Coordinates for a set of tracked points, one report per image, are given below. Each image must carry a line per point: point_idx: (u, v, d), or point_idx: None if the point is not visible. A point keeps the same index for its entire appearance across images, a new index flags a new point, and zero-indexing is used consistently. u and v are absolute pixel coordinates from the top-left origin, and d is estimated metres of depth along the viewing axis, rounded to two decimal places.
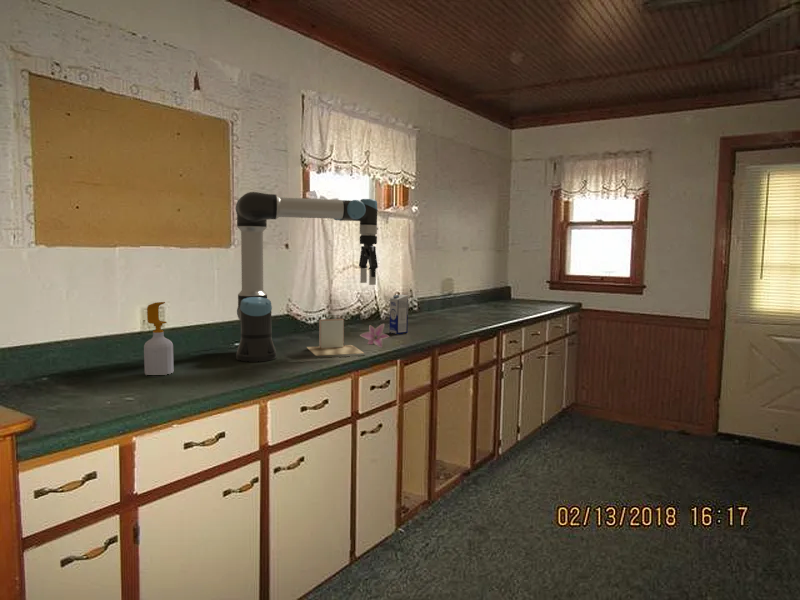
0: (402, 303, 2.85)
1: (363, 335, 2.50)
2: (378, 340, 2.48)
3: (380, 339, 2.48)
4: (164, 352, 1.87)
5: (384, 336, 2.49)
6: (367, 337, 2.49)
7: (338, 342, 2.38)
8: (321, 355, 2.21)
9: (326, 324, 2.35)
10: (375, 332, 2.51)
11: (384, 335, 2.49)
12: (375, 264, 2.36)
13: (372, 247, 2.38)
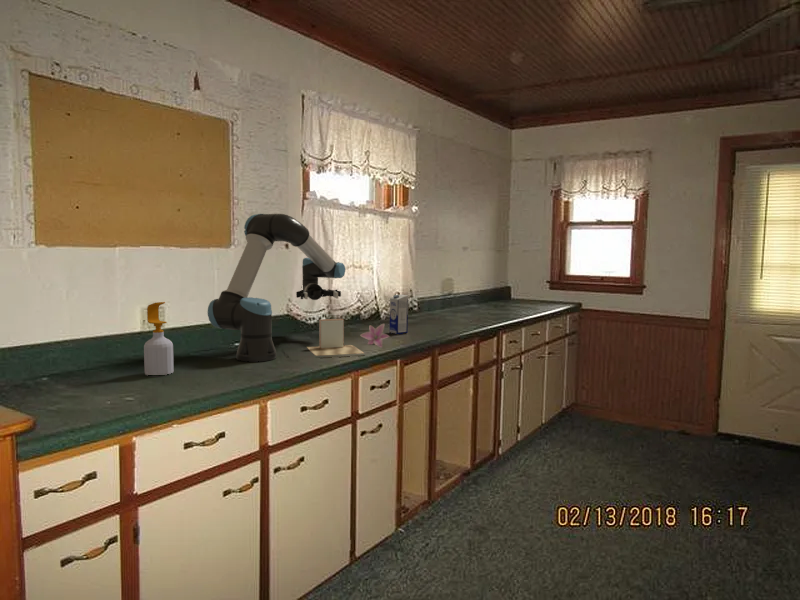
0: (402, 303, 2.85)
1: (363, 335, 2.50)
2: (378, 340, 2.48)
3: (380, 339, 2.48)
4: (164, 352, 1.87)
5: (384, 336, 2.49)
6: (367, 337, 2.49)
7: (338, 342, 2.38)
8: (321, 355, 2.21)
9: (326, 324, 2.35)
10: (375, 332, 2.51)
11: (384, 335, 2.49)
12: None
13: None
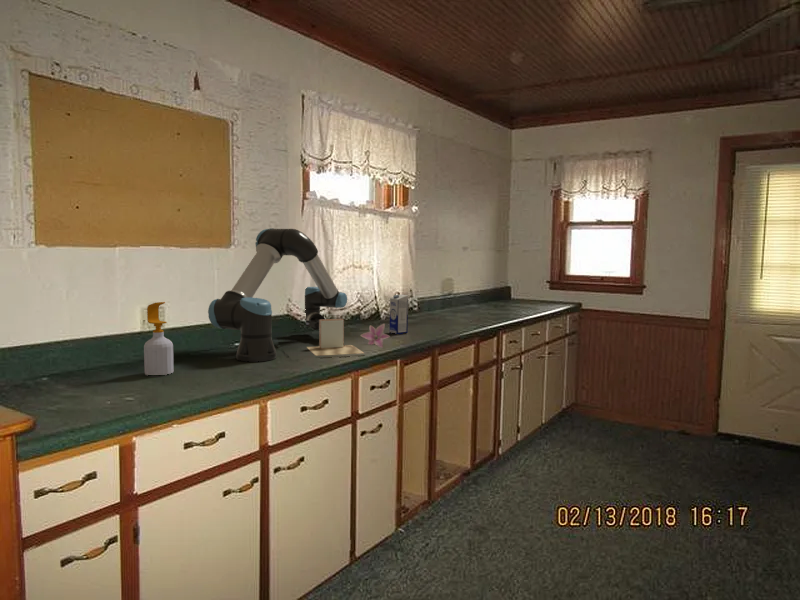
0: (402, 303, 2.85)
1: (363, 335, 2.49)
2: (379, 340, 2.48)
3: (381, 339, 2.48)
4: (164, 352, 1.87)
5: (384, 336, 2.49)
6: (367, 337, 2.49)
7: (338, 342, 2.38)
8: (321, 355, 2.21)
9: (326, 324, 2.35)
10: (375, 332, 2.51)
11: (385, 335, 2.49)
12: None
13: None
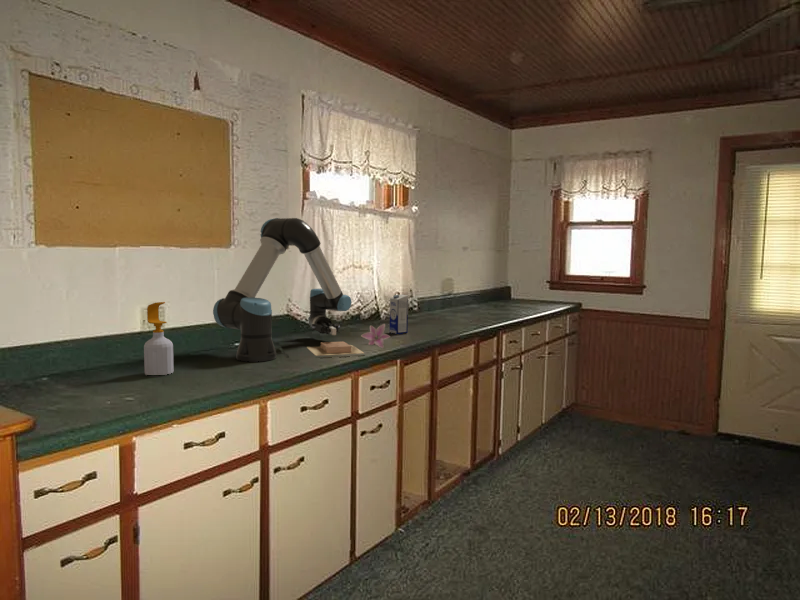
0: (402, 303, 2.85)
1: (364, 335, 2.49)
2: (379, 340, 2.48)
3: (381, 339, 2.48)
4: (164, 352, 1.87)
5: (385, 336, 2.49)
6: (368, 337, 2.48)
7: None
8: (321, 355, 2.21)
9: None
10: (376, 332, 2.50)
11: (385, 335, 2.49)
12: None
13: (339, 325, 2.52)
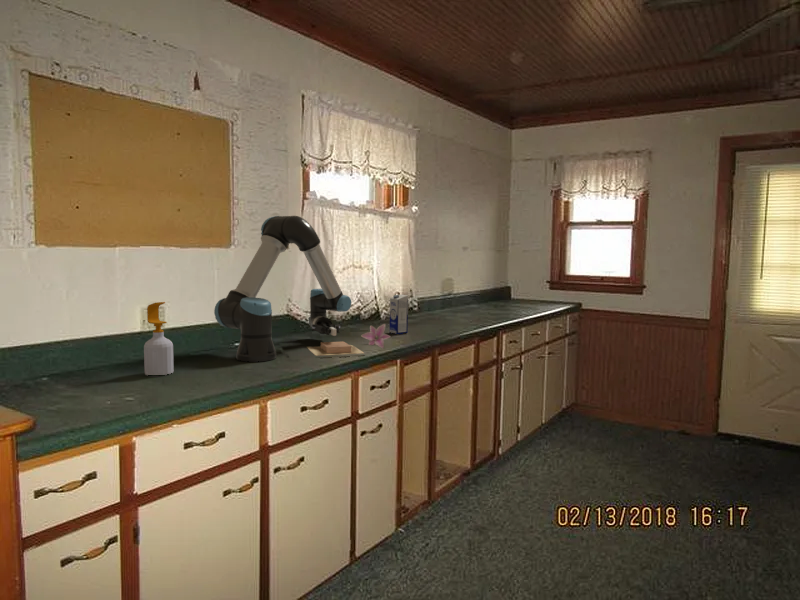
0: (402, 303, 2.85)
1: (364, 335, 2.49)
2: (379, 340, 2.47)
3: (381, 339, 2.47)
4: (164, 352, 1.87)
5: (385, 336, 2.48)
6: (368, 337, 2.48)
7: None
8: (321, 355, 2.21)
9: None
10: (376, 332, 2.50)
11: (385, 335, 2.48)
12: (338, 330, 2.42)
13: (339, 326, 2.49)
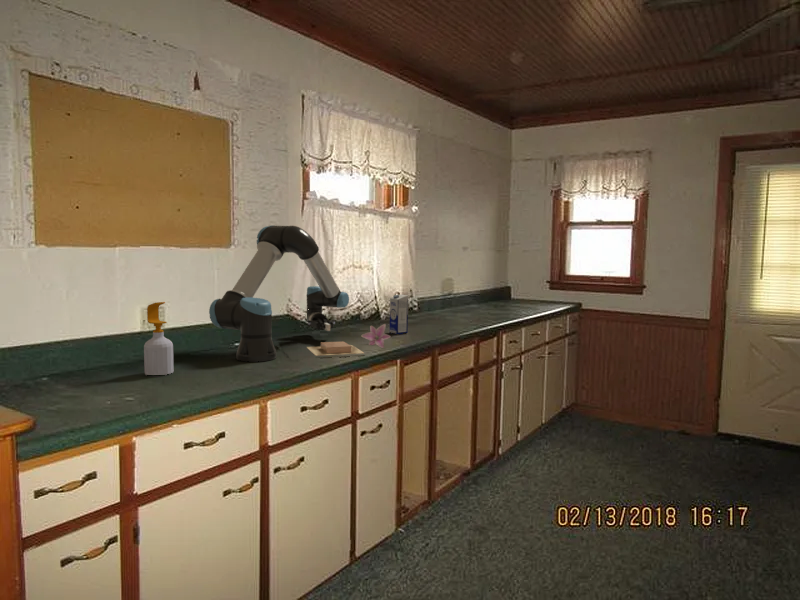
0: (402, 303, 2.85)
1: (364, 336, 2.48)
2: (380, 341, 2.47)
3: (382, 339, 2.47)
4: (164, 352, 1.87)
5: (385, 336, 2.48)
6: (368, 338, 2.48)
7: None
8: (321, 355, 2.21)
9: None
10: (376, 332, 2.50)
11: (385, 335, 2.48)
12: (333, 325, 2.53)
13: (334, 322, 2.60)
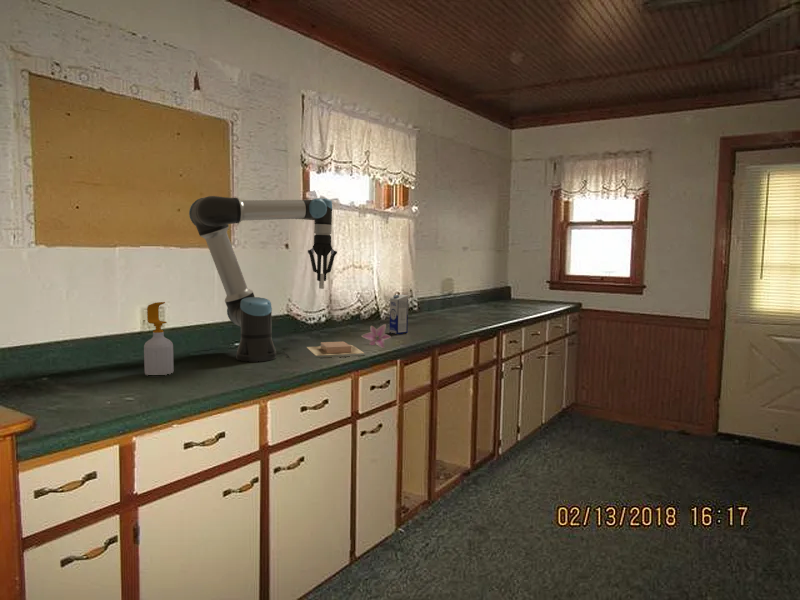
0: (402, 303, 2.85)
1: (365, 336, 2.48)
2: (380, 341, 2.47)
3: (382, 340, 2.47)
4: (164, 352, 1.87)
5: (385, 336, 2.48)
6: (369, 338, 2.48)
7: None
8: (321, 355, 2.21)
9: None
10: (377, 333, 2.49)
11: (386, 336, 2.48)
12: None
13: None
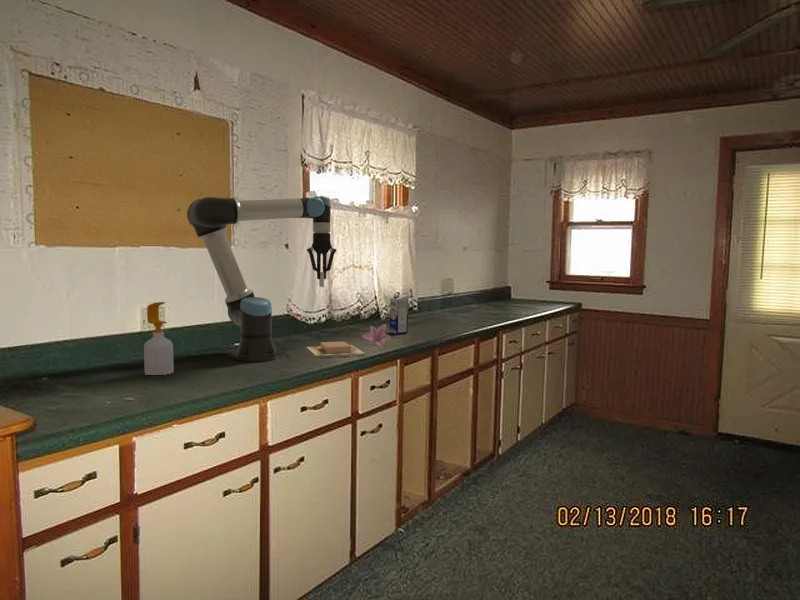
0: (402, 303, 2.85)
1: (365, 336, 2.48)
2: (380, 341, 2.47)
3: (382, 340, 2.47)
4: (164, 352, 1.87)
5: (386, 336, 2.48)
6: (369, 338, 2.47)
7: None
8: (321, 355, 2.21)
9: None
10: (377, 333, 2.49)
11: (386, 336, 2.48)
12: None
13: None
